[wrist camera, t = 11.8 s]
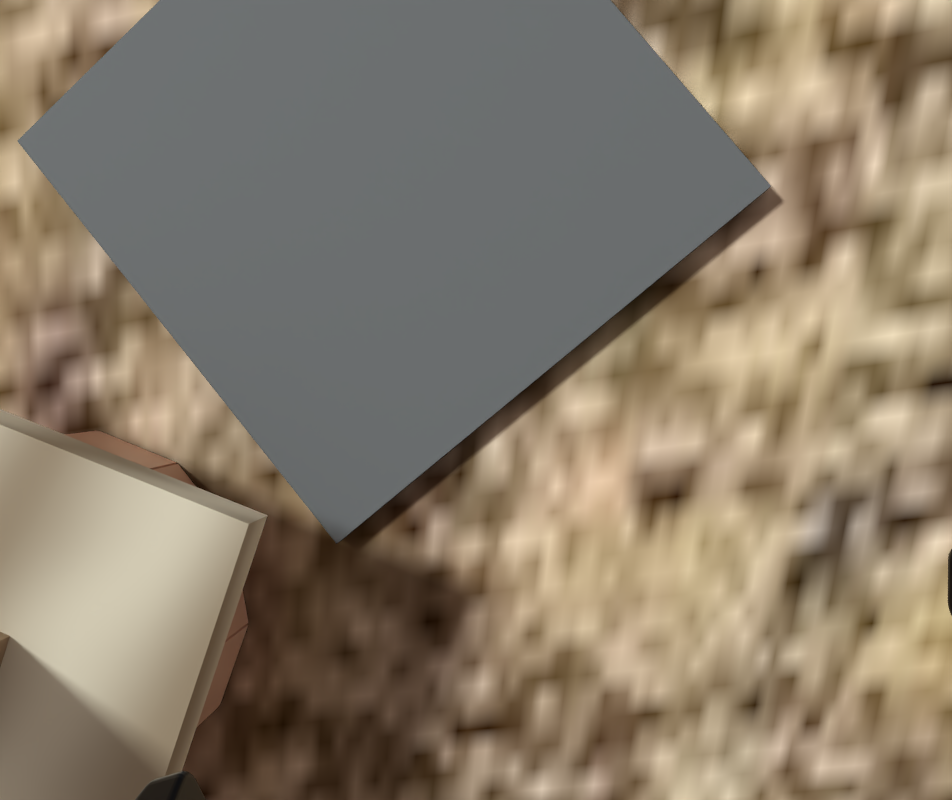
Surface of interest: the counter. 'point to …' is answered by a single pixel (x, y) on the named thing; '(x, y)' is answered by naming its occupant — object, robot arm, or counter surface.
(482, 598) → the counter surface
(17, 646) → the square lid with knob
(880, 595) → the counter surface
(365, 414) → the rubber mat
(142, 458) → the terracotta bowl
